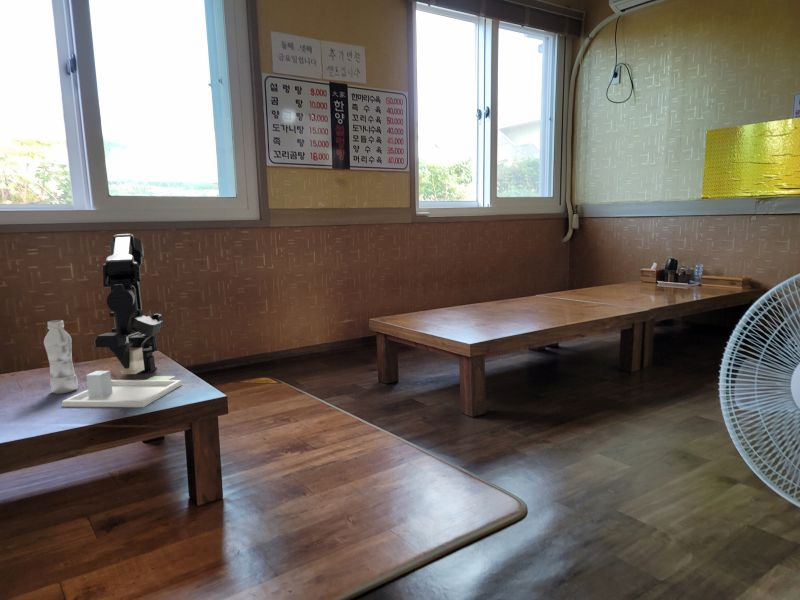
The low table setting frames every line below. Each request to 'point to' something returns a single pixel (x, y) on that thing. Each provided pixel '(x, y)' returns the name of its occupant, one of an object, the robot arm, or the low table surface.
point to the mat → (161, 378)
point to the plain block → (99, 383)
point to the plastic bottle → (60, 358)
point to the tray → (125, 394)
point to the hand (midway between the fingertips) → (132, 366)
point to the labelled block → (134, 362)
